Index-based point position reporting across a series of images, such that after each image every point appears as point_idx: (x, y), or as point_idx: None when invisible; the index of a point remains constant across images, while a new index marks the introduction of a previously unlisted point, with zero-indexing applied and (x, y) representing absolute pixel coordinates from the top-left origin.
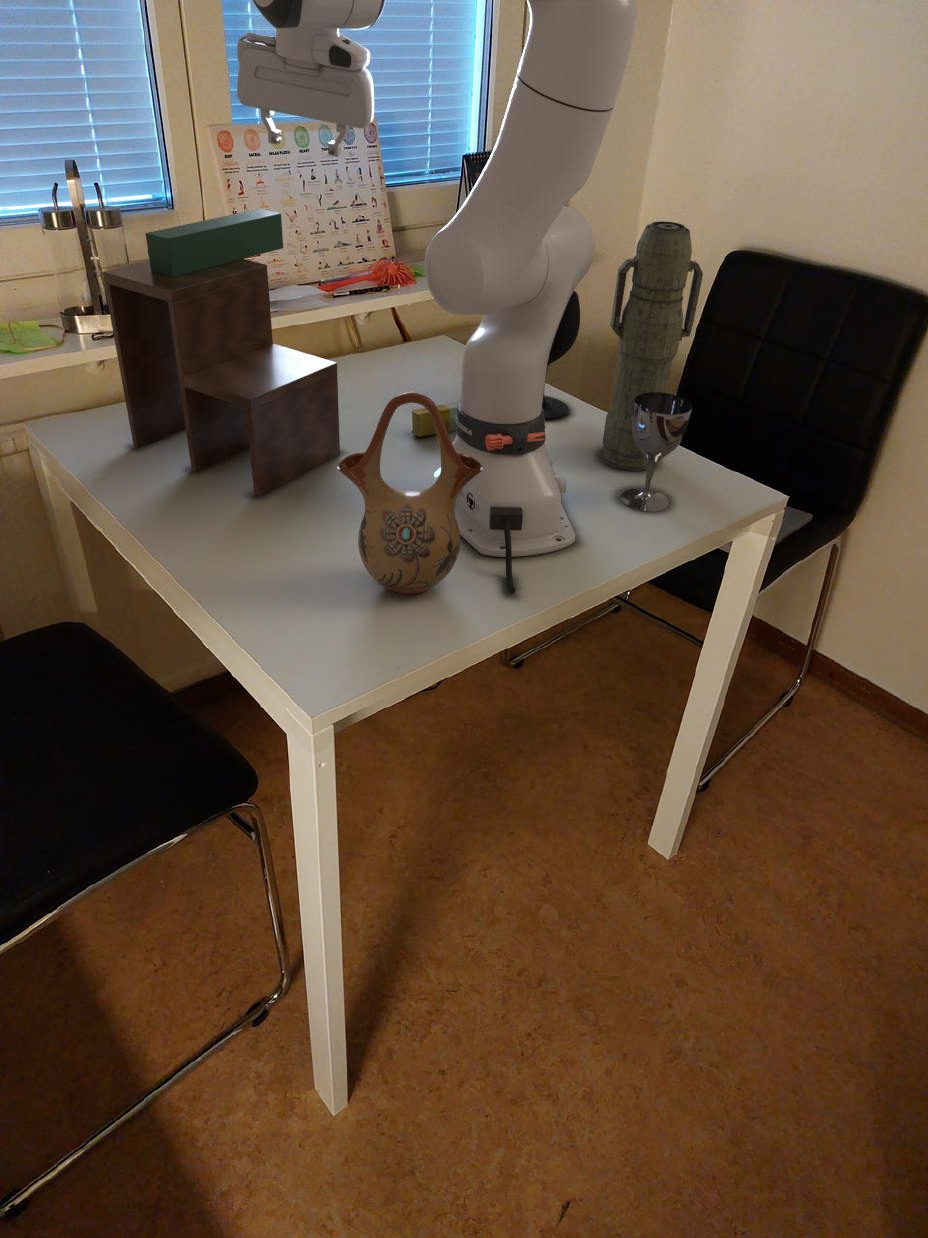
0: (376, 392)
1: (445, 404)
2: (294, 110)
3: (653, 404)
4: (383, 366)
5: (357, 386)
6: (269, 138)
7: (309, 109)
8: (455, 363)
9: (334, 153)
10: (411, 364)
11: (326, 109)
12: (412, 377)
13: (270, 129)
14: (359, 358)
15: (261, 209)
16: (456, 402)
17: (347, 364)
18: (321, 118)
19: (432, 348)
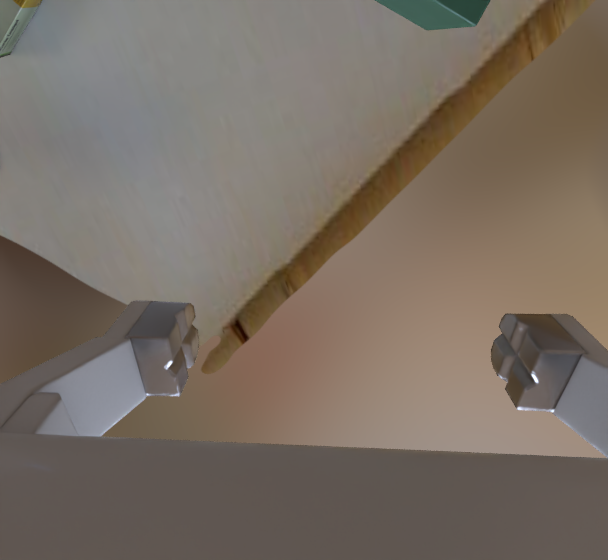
0: (205, 134)
1: (14, 9)
2: (471, 485)
3: None
4: (232, 234)
5: (241, 149)
6: (572, 321)
7: (273, 525)
8: (145, 273)
9: (146, 303)
10: (199, 252)
11: (1, 556)
12: (179, 208)
13: (601, 358)
14: (274, 251)
15: (465, 8)
16: (3, 28)
17: (282, 226)
18: (139, 448)
19: (195, 311)
